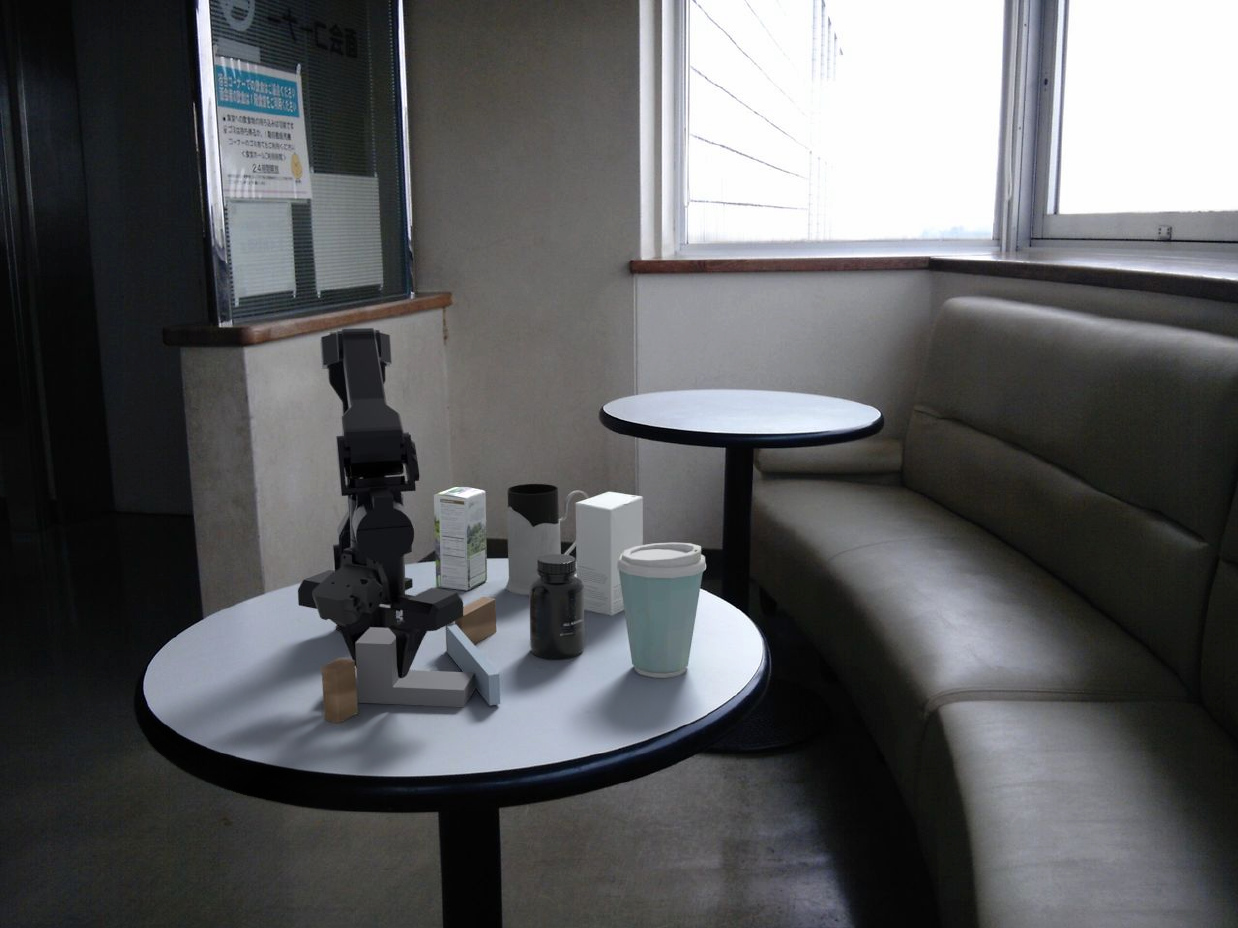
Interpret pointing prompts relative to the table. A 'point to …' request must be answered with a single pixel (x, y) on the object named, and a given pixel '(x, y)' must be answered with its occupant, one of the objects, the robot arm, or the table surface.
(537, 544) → the glass holder
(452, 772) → the table surface
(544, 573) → the supplement bottle
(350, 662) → the wooden blocks
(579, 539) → the skincare box
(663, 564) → the disposable coffee cup
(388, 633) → the gray t-shaped pedestal
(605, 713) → the table surface
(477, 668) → the door leaf
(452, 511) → the syrup box
